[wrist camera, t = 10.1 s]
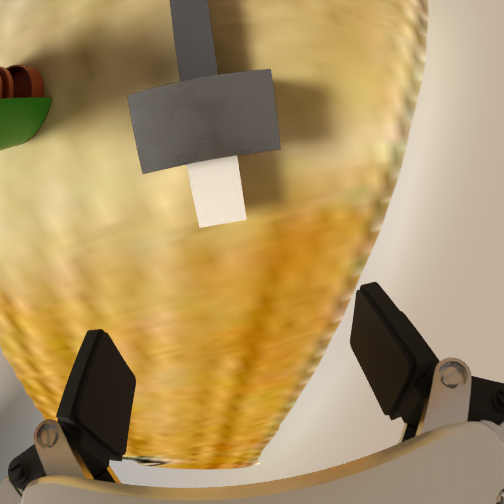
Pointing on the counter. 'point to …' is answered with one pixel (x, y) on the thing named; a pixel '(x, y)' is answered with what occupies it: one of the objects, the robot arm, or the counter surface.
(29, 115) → the motor
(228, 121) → the housing
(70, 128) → the counter surface
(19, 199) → the counter surface
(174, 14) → the plug
